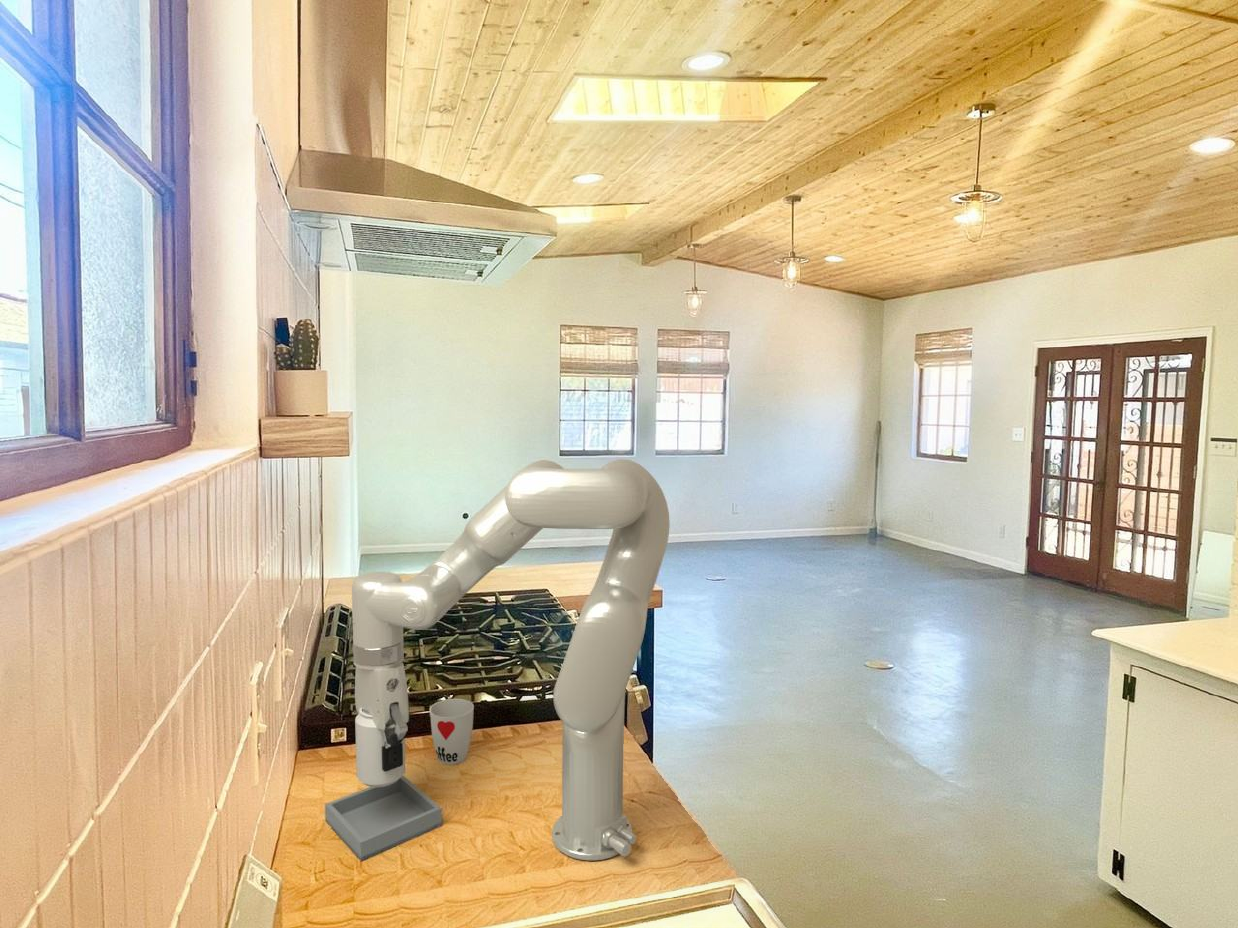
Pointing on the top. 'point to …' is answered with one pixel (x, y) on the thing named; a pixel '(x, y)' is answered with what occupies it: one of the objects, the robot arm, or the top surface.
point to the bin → (382, 817)
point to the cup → (451, 729)
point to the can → (373, 753)
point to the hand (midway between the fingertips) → (380, 757)
